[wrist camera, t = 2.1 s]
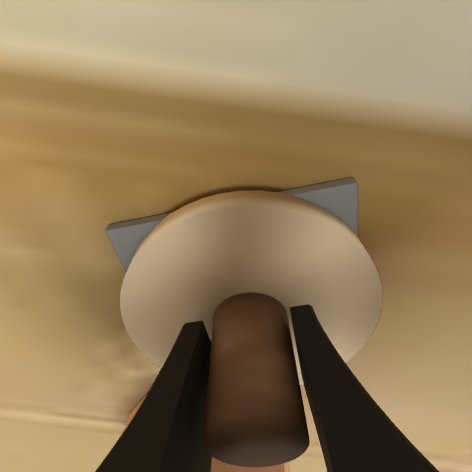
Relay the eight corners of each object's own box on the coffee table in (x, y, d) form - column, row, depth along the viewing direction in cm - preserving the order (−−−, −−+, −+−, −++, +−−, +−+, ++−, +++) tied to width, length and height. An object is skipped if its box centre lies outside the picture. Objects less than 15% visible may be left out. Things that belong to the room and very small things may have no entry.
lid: (374, 163, 9) (491, 278, 5) (370, 357, 14) (427, 499, 10) (83, 220, 10) (-23, 355, 6) (173, 382, 15) (148, 520, 11)
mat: (352, 177, 10) (356, 182, 9) (355, 343, 14) (358, 351, 14) (108, 224, 11) (104, 231, 10) (181, 367, 15) (180, 375, 15)
